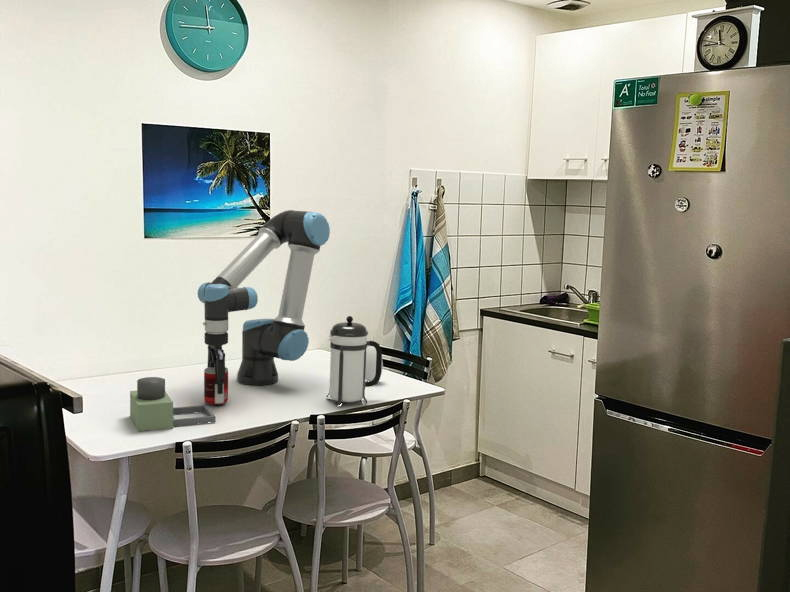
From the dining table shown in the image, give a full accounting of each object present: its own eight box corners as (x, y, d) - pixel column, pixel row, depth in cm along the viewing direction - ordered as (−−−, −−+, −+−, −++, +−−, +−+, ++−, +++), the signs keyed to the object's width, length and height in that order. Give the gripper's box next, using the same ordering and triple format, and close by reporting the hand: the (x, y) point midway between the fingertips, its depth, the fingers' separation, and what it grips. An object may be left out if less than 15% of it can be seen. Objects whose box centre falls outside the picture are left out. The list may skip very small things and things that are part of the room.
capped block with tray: (204, 409, 249) (205, 370, 247) (216, 424, 235) (217, 382, 233) (130, 416, 239) (130, 375, 237) (137, 431, 225) (137, 388, 223)
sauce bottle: (381, 385, 289) (383, 338, 286) (360, 384, 289) (362, 337, 286) (382, 380, 296) (384, 334, 294) (362, 379, 297) (364, 333, 294)
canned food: (229, 398, 260) (229, 366, 258) (225, 405, 252) (225, 372, 250) (206, 397, 259) (206, 365, 258) (202, 404, 251) (202, 371, 250)
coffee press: (359, 411, 255) (363, 322, 251) (316, 404, 261) (319, 316, 257) (380, 398, 271) (384, 314, 267) (340, 392, 277) (343, 310, 273)
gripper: (197, 326, 259) (197, 392, 263) (212, 338, 241) (212, 409, 245) (220, 325, 263) (219, 390, 266) (235, 337, 244) (235, 406, 248)
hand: (216, 399), depth 255 cm, fingers closed on canned food, 8 cm apart
